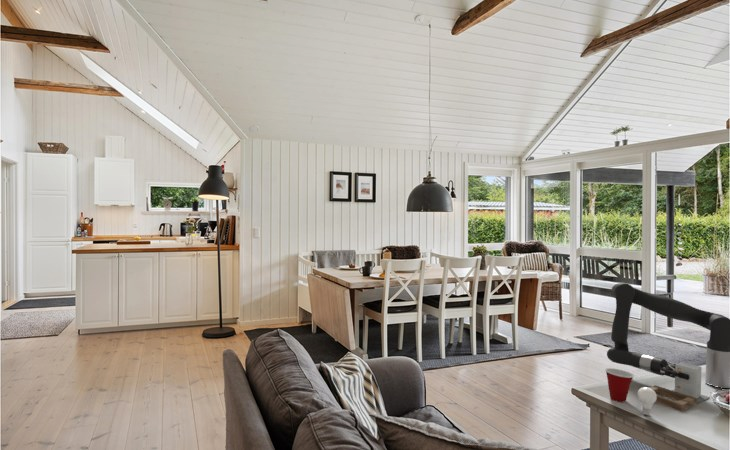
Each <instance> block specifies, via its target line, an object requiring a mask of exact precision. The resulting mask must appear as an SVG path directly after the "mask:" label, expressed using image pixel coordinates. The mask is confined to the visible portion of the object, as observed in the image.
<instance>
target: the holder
mask: <svg viewBox="0 0 730 450" xmlns="http://www.w3.org/2000/svg"><path fill="white" fill-rule="evenodd" d="M649 388H651V389H653V390H654V391H655V393H656V395H657V400H656V401H655V403H656V404H659V405H662V406H665V407H668V408H670V409H674V410H676V411H679V412H683V411H685V410H687V409H690V408H691V407H694V406H696V405H697V398H694V397H691V396H688V395H684V394H681V393H678V392H675V391H672V390H673V389H672V390H671V389H669V388H666V387H662V386H659V385H653V386H650V387H649Z"/></svg>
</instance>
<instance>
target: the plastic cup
mask: <svg viewBox="0 0 730 450" xmlns="http://www.w3.org/2000/svg"><path fill="white" fill-rule="evenodd" d="M605 372H606V374H605V375H606V378H607V385H608V387H607V388H608V390H609V391H608V393H609V397H610V399H611V400H612V401H615V402H620V403H625V402H626V401H627V398H628V395H629V390H630V387H631V383H632V381H633V379H634V378H635V374H634V373H631V372H629V371H626V370H622V369H618V368H611V367H609V368H608V367H606V368H605Z"/></svg>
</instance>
